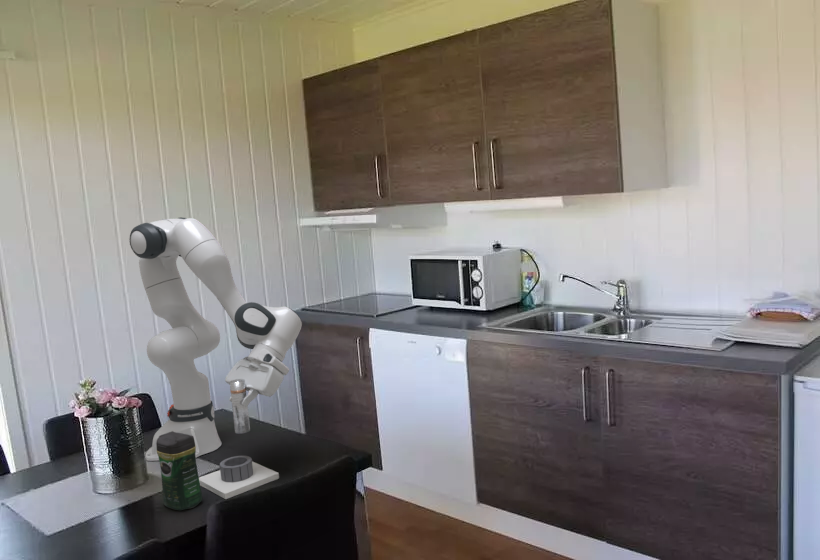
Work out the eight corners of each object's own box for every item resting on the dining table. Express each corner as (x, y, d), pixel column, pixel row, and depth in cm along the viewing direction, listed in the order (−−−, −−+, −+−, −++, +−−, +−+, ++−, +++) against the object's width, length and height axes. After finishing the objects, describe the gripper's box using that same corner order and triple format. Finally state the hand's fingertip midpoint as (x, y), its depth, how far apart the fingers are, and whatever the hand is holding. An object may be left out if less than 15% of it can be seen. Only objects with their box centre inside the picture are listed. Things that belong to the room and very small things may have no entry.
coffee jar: (208, 501, 179) (199, 431, 176) (181, 514, 172) (172, 442, 170) (185, 494, 184) (176, 426, 182) (158, 506, 178) (149, 436, 176)
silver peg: (233, 434, 188) (228, 383, 186) (236, 429, 192) (230, 379, 190) (249, 432, 189) (243, 382, 187) (251, 427, 193) (245, 378, 191)
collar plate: (225, 499, 179) (223, 478, 178) (197, 483, 191) (194, 464, 190) (279, 478, 190) (276, 458, 189) (249, 464, 201) (246, 446, 201)
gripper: (236, 350, 200) (209, 392, 194) (278, 358, 186) (250, 404, 180) (251, 361, 204) (225, 403, 198) (293, 371, 189) (266, 416, 184)
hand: (237, 403), depth 189 cm, fingers closed on silver peg, 4 cm apart
